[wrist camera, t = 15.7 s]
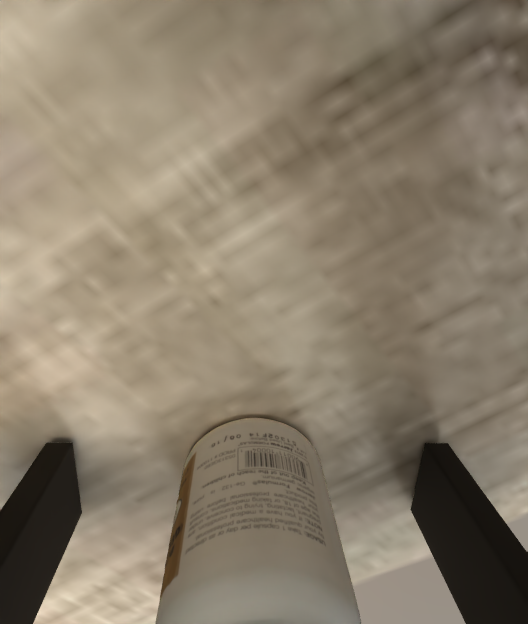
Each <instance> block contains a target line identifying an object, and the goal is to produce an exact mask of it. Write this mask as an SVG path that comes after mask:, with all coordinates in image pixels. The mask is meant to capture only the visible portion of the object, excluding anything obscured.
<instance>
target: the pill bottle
mask: <svg viewBox="0 0 528 624" xmlns="http://www.w3.org/2000/svg"><path fill="white" fill-rule="evenodd" d="M156 624H361V619H360V614H359V610H358V606H357V602H356V598H355V594H354V590H353V586H352V582H351V578H350V574H349V571H348V567H347V563H346V559H345V555H344V552H343V548H342V544H341V540H340V536H339V533H338V529H337V525H336V521H335V517H334V513H333V509H332V505H331V501H330V497H329V493H328V489H327V485H326V481H325V478H324V474H323V470H322V466H321V462H320V460H319V457H318V455H317V453H316V451H315V449H314V447H313V446H312V445H311V443H310V442H309V441H308V440H307V439H306V438H305V437H304V436H303V435H302V434H301V433H300V432H299V431H297V430H296V429H294V428H292V427H290V426H288V425H286V424H283V423H281V422H278V421H274V420H269V419H263V418H247V419H240V420H236V421H232V422H228V423H226V424H223V425H221V426H219V427H217V428H215V429H213V430H212V431H210V432H209V433H207V434H206V435H205V436H204V437H203V438H201V439H200V440H199V441H198V442H197V443H196V445H195V446H194V447H193V449H192V450H191V451H190V453H189V455H188V457H187V459H186V462H185V465H184V468H183V473H182V480H181V485H180V490H179V497H178V500H177V506H176V511H175V516H174V521H173V527H172V533H171V538H170V543H169V549H168V554H167V560H166V564H165V573H164V577H163V584H162V590H161V595H160V603H159V608H158V613H157V618H156Z"/></svg>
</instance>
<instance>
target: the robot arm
mask: <svg viewBox="0 0 528 624" xmlns="http://www.w3.org/2000/svg"><path fill="white" fill-rule="evenodd" d="M411 511H412V514H413V516H414V518H415V520H416V522H417V524H418V526H419V528H420V530H421V532H422V534H423V536H424V538H425V540H426V542H427V544H428V546H429V549H430V551H431V553H432V555H433V557H434V559H435V561H436V563H437V565H438V567H439V569H440V571H441V573H442V575H443V577H444V579H445V581H446V583H447V586H448V588H449V590H450V592H451V594H452V596H453V598H454V600H455V602H456V604H457V606H458V608H459V610H460V612H461V614H462V616H463V619H464V621H465V623H466V624H528V552H526V550H525V549H524V548H523V546H522V545H521V544H520V542H519V541H518V539H517V538H516V537H515V535H514V534H513V533H512V531H511V530H510V528H509V527H508V526H507V524H506V523H505V521H504V520H503V519H502V517H501V516H500V515H499V513H498V512H497V510H496V509H495V508H494V506H493V505H492V504H491V502H490V501H489V499H488V498H487V497H486V495H485V494H484V493H483V491H482V490H481V488H480V487H479V486H478V484H477V483H476V482H475V480H474V479H473V477H472V476H471V475H470V473H469V472H468V471H467V469H466V468H465V466H464V465H463V464H462V462H461V461H460V460H459V458H458V457H457V455H456V454H455V453H454V451H453V450H452V449H451V447H450V446H449V444H448V443H425V444H424V449H423V454H422V458H421V463H420V468H419V472H418V477H417V482H416V486H415V491H414V496H413V501H412V505H411ZM81 513H82V510H81V502H80V495H79V487H78V480H77V473H76V465H75V458H74V450H73V443H46V444H45V446H44V447H43V448H42V450H41V451H40V453H39V454H38V456H37V457H36V459H35V460H34V462H33V463H32V465H31V466H30V468H29V469H28V471H27V472H26V474H25V475H24V477H23V478H22V480H21V481H20V483H19V484H18V486H17V487H16V489H15V490H14V491H13V493H12V494H11V496H10V497H9V499H8V500H7V502H6V503H5V505H4V506H3V508H2V509H1V511H0V624H33V622H34V620H35V618H36V615H37V613H38V611H39V609H40V606H41V604H42V602H43V599H44V597H45V595H46V593H47V590H48V588H49V586H50V584H51V581H52V579H53V577H54V575H55V572H56V570H57V568H58V566H59V563H60V561H61V559H62V556H63V554H64V552H65V550H66V547H67V545H68V543H69V541H70V538H71V536H72V534H73V532H74V529H75V527H76V525H77V523H78V520H79V518H80V516H81Z"/></svg>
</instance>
